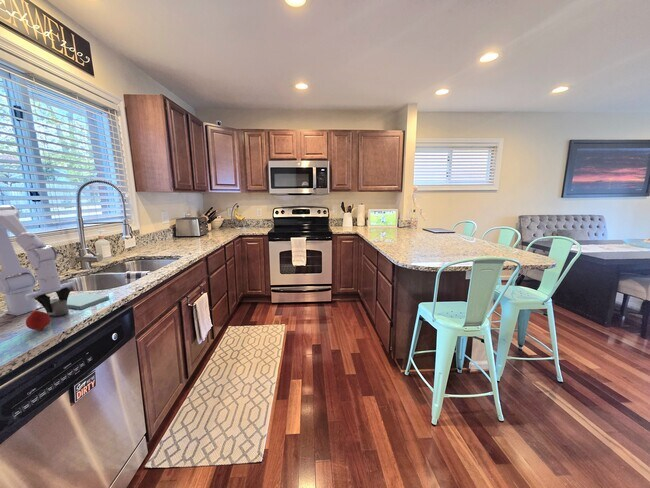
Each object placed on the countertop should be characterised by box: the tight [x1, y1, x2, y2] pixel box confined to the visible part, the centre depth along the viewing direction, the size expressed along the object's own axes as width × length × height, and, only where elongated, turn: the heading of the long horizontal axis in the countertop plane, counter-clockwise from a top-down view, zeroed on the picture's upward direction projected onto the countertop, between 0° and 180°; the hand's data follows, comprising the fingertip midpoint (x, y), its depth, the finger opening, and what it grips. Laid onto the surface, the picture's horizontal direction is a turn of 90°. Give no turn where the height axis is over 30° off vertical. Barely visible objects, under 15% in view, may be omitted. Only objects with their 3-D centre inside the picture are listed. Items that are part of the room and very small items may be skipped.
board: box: [67, 292, 110, 310], centre depth 117 cm, size 18×11×2 cm, turn 72°
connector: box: [42, 298, 70, 317], centre depth 105 cm, size 11×4×5 cm, turn 72°
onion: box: [25, 309, 51, 332], centre depth 92 cm, size 6×6×8 cm
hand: (57, 309), depth 105 cm, fingers closed on connector, 4 cm apart
